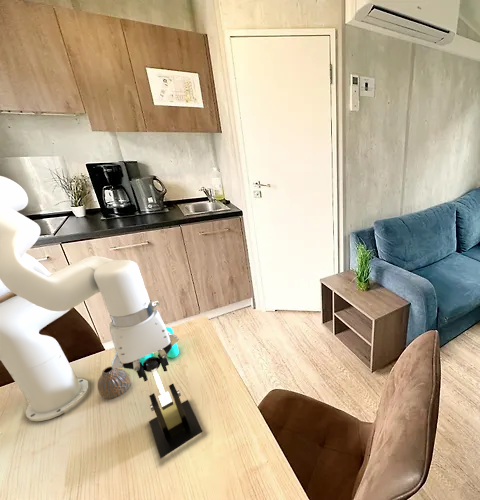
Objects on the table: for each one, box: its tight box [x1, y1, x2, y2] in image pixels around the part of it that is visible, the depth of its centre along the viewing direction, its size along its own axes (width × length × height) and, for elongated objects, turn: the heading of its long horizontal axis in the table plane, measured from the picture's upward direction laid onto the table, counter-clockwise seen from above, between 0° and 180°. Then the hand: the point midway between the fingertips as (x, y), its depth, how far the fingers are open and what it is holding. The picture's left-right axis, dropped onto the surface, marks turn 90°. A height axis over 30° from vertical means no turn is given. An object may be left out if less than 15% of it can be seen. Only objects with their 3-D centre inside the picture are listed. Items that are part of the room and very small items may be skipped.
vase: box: [96, 366, 131, 400], centre depth 78 cm, size 7×7×9 cm
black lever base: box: [148, 383, 203, 460], centre depth 68 cm, size 12×9×12 cm
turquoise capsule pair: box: [139, 326, 180, 365], centre depth 90 cm, size 10×10×10 cm
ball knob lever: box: [143, 356, 174, 410], centre depth 68 cm, size 13×4×4 cm, turn 45°
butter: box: [160, 401, 182, 430], centre depth 71 cm, size 5×4×3 cm
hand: (154, 372), depth 71 cm, fingers closed on ball knob lever, 3 cm apart
